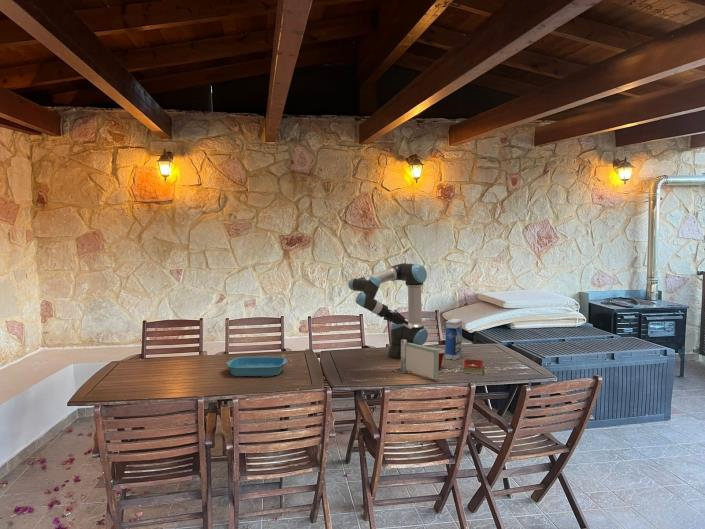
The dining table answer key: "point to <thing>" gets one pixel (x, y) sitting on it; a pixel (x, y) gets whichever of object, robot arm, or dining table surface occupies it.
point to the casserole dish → (256, 366)
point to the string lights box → (453, 339)
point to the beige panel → (422, 360)
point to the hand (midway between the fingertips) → (411, 326)
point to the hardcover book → (473, 366)
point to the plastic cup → (440, 356)
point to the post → (403, 357)
